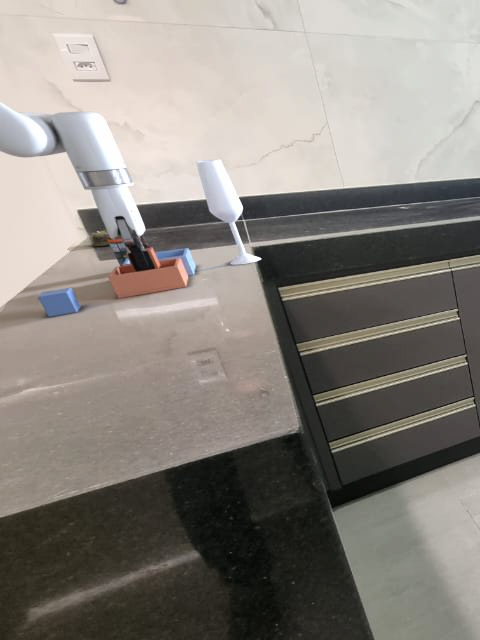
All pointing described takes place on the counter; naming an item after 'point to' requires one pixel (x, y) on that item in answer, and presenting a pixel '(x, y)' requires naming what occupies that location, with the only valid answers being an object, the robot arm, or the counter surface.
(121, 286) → the terracotta bin
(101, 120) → the robot arm
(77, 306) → the slate-blue block
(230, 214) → the champagne flute
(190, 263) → the blue bin
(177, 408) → the counter surface
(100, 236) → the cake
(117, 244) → the supplement bottle
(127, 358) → the counter surface
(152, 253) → the terracotta block
